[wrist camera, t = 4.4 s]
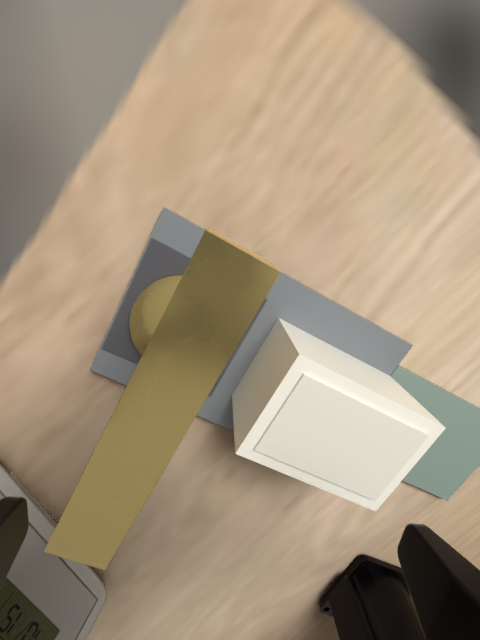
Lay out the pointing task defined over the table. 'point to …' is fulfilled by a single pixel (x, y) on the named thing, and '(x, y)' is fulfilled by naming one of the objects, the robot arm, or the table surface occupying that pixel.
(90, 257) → the table surface
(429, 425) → the cover
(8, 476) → the digital clock
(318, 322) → the base plate
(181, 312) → the brass door handle
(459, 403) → the pad
